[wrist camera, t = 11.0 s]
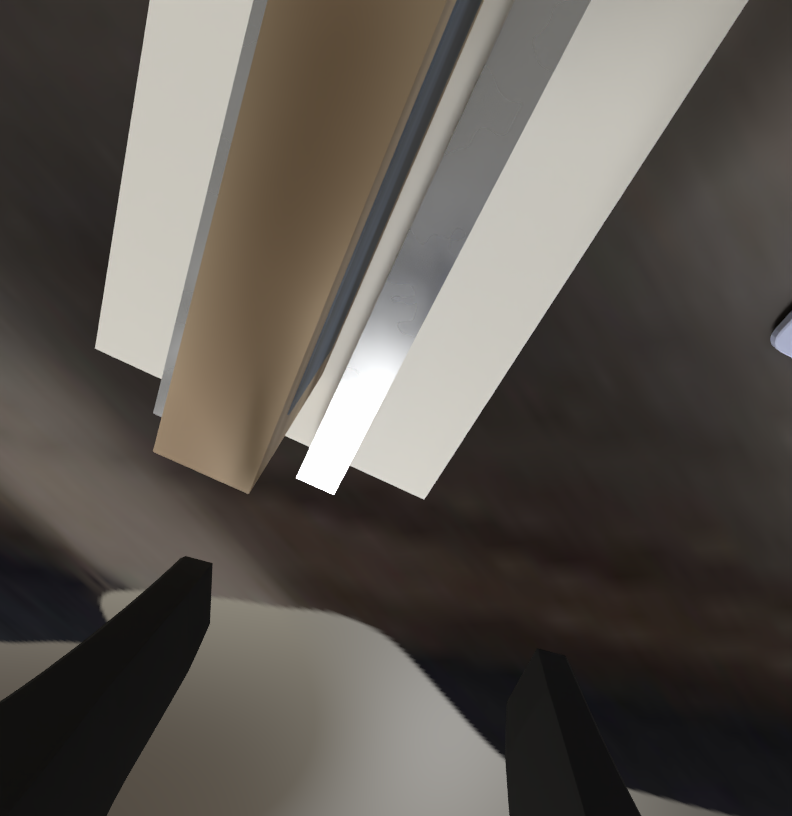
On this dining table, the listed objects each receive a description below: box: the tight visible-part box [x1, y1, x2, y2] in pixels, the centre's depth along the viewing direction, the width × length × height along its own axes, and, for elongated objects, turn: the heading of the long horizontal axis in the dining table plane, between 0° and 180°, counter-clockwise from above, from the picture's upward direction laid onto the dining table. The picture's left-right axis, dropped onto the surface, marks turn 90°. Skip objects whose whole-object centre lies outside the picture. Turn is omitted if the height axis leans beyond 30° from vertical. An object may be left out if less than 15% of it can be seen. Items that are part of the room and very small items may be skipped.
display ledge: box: [95, 0, 748, 499], centre depth 15 cm, size 14×20×3 cm
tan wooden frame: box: [153, 0, 484, 494], centre depth 12 cm, size 3×14×7 cm, turn 155°
